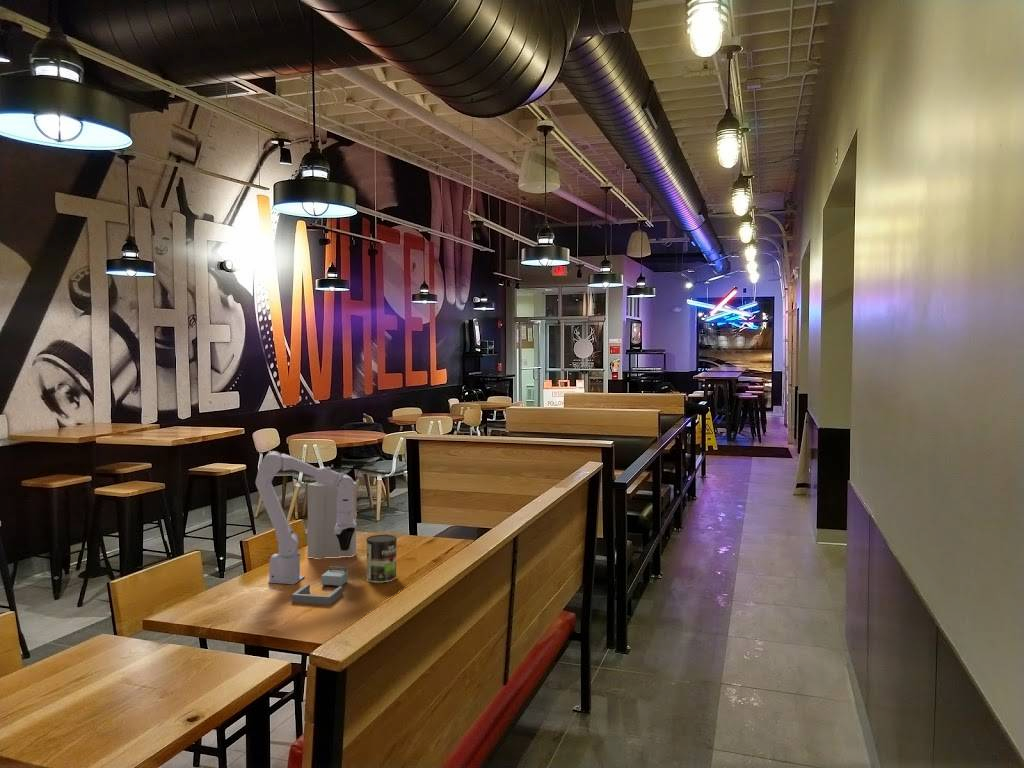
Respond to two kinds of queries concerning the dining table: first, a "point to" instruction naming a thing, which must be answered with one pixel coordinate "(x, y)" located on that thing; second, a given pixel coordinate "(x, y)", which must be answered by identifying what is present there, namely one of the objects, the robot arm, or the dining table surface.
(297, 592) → the bay
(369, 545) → the coffee can
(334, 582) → the box with handle
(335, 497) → the tall upright grey box
